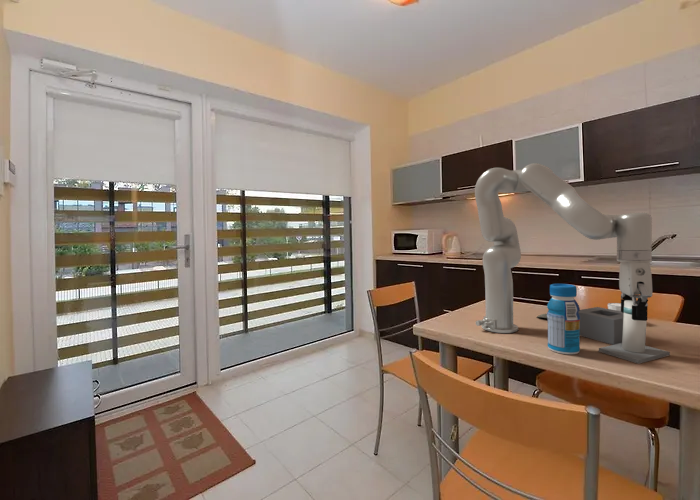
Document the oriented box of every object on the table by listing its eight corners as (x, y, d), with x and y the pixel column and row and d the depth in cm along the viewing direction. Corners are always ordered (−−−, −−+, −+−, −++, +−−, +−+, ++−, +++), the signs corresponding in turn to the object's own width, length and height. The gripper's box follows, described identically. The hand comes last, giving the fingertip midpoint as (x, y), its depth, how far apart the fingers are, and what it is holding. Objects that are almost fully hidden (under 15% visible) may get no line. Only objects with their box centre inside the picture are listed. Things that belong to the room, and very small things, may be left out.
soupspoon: (549, 319, 135) (533, 320, 135) (548, 311, 135) (533, 312, 135) (587, 333, 113) (569, 334, 113) (586, 323, 113) (568, 325, 113)
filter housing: (613, 345, 100) (614, 319, 99) (572, 333, 112) (572, 311, 112) (640, 339, 104) (640, 314, 104) (597, 328, 116) (597, 306, 116)
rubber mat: (638, 363, 86) (638, 360, 86) (598, 351, 95) (598, 348, 95) (669, 355, 90) (669, 351, 90) (628, 344, 100) (628, 341, 100)
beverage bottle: (544, 351, 97) (544, 286, 96) (549, 343, 103) (548, 282, 102) (579, 357, 91) (578, 288, 90) (581, 348, 98) (581, 284, 97)
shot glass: (628, 321, 124) (628, 303, 123) (632, 326, 118) (632, 307, 118) (606, 319, 127) (606, 302, 127) (608, 323, 122) (608, 305, 121)
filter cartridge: (637, 353, 89) (640, 304, 89) (617, 347, 94) (620, 300, 94) (649, 351, 91) (652, 303, 90) (628, 345, 96) (631, 299, 95)
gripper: (665, 258, 82) (664, 325, 83) (638, 254, 98) (638, 310, 98) (628, 258, 85) (627, 323, 86) (608, 254, 101) (608, 308, 102)
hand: (633, 316), depth 92 cm, fingers open, 8 cm apart
